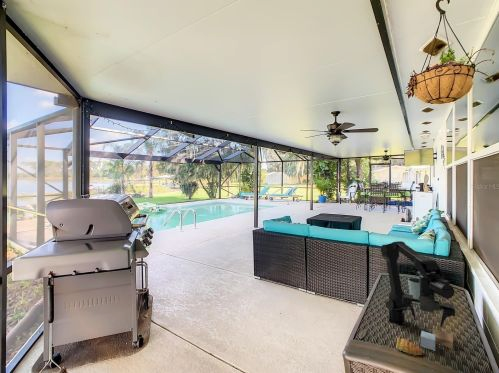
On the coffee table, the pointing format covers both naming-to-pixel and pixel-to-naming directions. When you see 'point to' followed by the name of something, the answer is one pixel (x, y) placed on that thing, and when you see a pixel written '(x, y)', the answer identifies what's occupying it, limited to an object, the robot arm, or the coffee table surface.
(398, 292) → the robot arm
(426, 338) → the cube
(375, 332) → the coffee table surface
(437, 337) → the walnut block
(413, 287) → the drinking glass
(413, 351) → the pastry
